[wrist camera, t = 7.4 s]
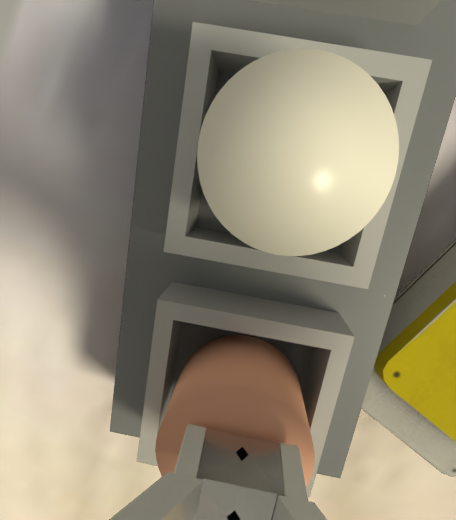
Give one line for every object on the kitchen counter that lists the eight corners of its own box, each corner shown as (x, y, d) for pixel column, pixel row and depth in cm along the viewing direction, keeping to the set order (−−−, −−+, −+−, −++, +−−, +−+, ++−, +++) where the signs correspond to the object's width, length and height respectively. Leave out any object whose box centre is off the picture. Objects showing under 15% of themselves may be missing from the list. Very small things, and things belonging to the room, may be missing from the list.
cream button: (338, 247, 11) (369, 271, 8) (203, 223, 11) (184, 237, 8) (374, 100, 10) (425, 66, 7) (225, 76, 10) (213, 32, 7)
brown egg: (286, 453, 13) (295, 534, 10) (171, 430, 13) (147, 503, 10) (312, 348, 12) (332, 403, 9) (187, 324, 12) (165, 371, 9)
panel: (325, 428, 17) (353, 524, 12) (133, 389, 18) (87, 469, 13) (489, -163, 12) (658, -410, 7) (203, -201, 12) (168, -463, 7)
